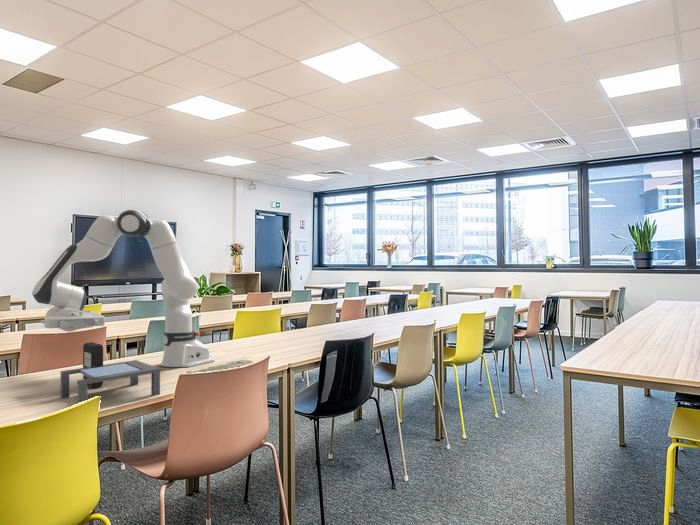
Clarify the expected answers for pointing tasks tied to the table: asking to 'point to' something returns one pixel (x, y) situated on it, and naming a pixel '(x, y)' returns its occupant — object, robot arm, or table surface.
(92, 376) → the trapdoor
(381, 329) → the table surface
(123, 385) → the table surface
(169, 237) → the robot arm
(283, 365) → the table surface
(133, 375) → the stand
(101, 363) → the card reader
